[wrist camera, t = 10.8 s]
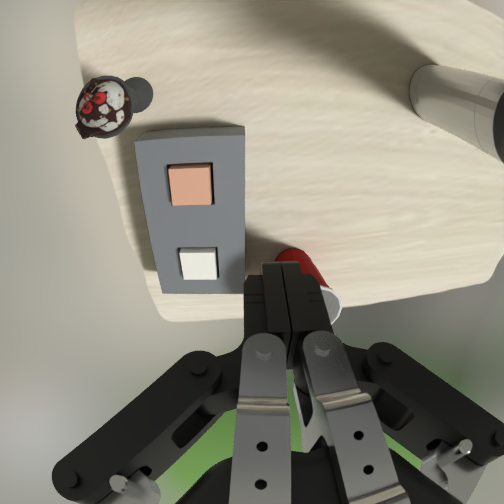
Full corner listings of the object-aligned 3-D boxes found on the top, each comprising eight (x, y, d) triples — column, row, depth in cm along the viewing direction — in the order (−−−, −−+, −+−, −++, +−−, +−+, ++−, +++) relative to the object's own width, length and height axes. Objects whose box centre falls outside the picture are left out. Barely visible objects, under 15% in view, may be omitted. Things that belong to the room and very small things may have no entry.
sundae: (153, 63, 30) (102, 67, 18) (164, 110, 34) (122, 140, 22) (107, 80, 30) (42, 97, 18) (119, 124, 34) (63, 162, 22)
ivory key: (216, 236, 43) (214, 252, 40) (218, 262, 46) (216, 279, 43) (183, 236, 43) (179, 252, 40) (187, 262, 46) (183, 279, 43)
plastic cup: (311, 290, 53) (324, 343, 43) (253, 281, 51) (256, 337, 41) (335, 242, 47) (357, 294, 37) (271, 228, 45) (279, 282, 35)
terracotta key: (212, 157, 36) (209, 167, 33) (213, 191, 39) (211, 204, 36) (175, 158, 36) (168, 169, 33) (178, 192, 39) (172, 205, 36)
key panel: (244, 126, 36) (245, 135, 31) (244, 272, 50) (244, 293, 46) (146, 131, 35) (134, 141, 31) (168, 273, 49) (162, 293, 45)
